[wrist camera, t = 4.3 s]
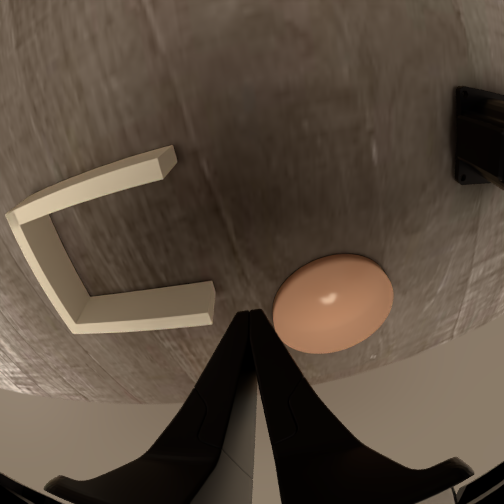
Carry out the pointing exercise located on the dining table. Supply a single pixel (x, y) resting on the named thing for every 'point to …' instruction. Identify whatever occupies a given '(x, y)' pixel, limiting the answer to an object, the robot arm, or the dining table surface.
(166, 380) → the dining table surface
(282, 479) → the robot arm
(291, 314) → the orange tan disc
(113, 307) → the cream u-shaped frame
